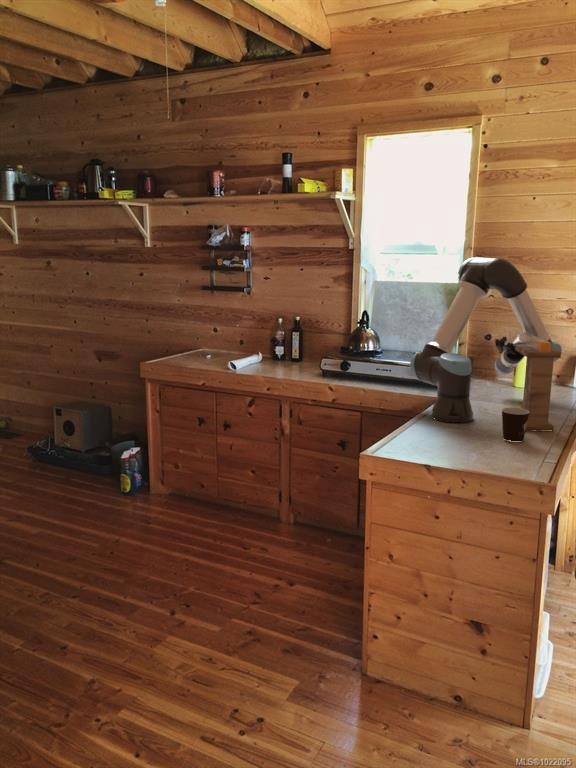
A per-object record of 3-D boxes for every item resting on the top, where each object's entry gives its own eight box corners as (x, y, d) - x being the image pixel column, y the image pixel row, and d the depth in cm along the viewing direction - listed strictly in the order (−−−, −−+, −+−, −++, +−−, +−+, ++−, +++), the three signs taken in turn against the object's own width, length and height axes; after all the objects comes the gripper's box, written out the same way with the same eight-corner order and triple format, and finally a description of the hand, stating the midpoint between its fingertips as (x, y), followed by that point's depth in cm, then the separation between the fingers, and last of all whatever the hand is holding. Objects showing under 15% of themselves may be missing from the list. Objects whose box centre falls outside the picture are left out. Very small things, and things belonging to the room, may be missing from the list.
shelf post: (553, 431, 228) (561, 352, 221) (521, 430, 228) (527, 351, 222) (539, 418, 243) (546, 344, 237) (509, 418, 244) (515, 344, 238)
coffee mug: (513, 445, 213) (515, 415, 210) (494, 438, 220) (496, 409, 218) (539, 440, 218) (541, 411, 216) (519, 433, 225) (521, 405, 223)
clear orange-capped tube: (549, 352, 222) (550, 342, 221) (539, 351, 222) (539, 342, 221) (527, 340, 247) (528, 331, 246) (518, 339, 247) (518, 331, 246)
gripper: (545, 364, 259) (564, 345, 239) (481, 363, 261) (494, 344, 241) (544, 346, 261) (562, 326, 241) (480, 345, 263) (493, 325, 243)
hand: (528, 335), depth 241 cm, fingers open, 13 cm apart
